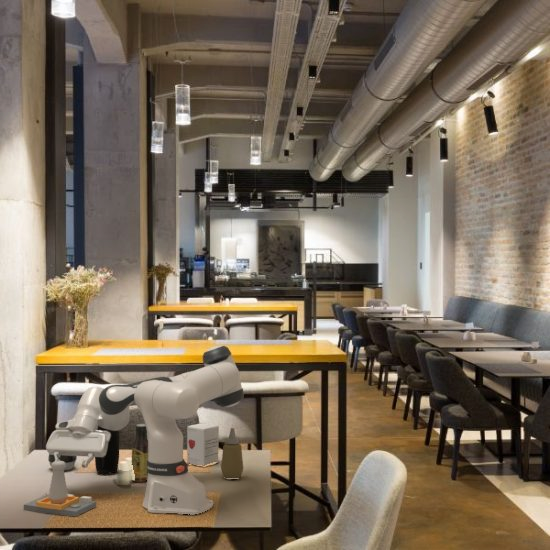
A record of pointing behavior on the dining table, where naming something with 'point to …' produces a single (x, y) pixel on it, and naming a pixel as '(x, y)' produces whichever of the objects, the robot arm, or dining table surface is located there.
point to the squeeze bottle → (232, 457)
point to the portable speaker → (109, 455)
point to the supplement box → (202, 444)
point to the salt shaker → (58, 484)
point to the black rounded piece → (67, 459)
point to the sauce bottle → (140, 453)
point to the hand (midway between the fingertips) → (70, 466)
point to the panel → (62, 505)
